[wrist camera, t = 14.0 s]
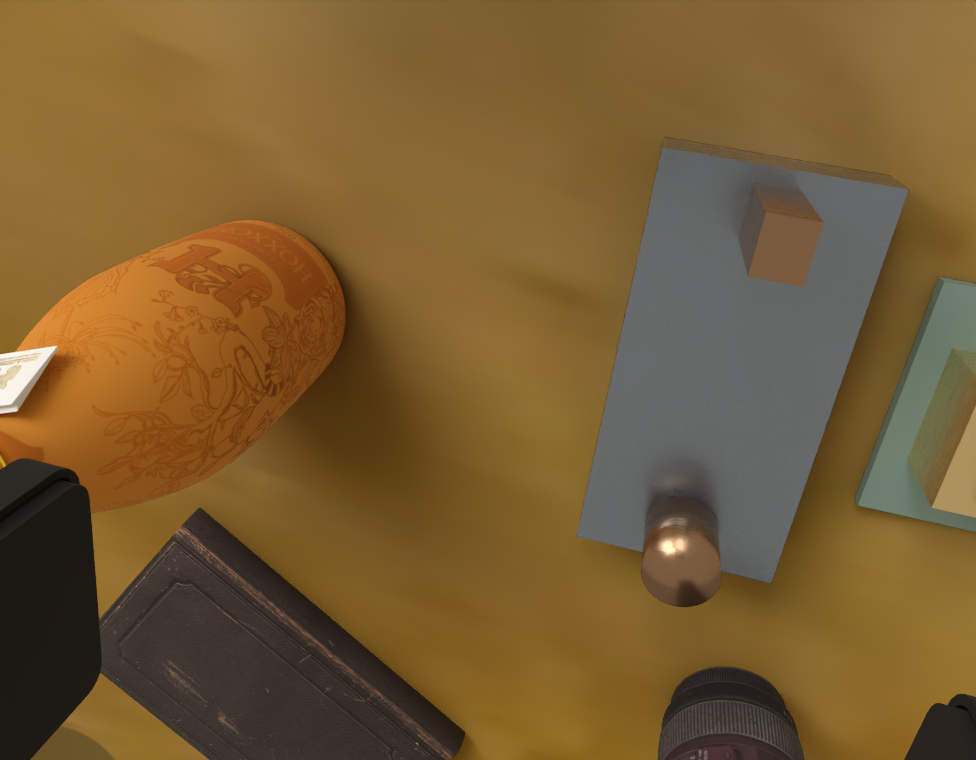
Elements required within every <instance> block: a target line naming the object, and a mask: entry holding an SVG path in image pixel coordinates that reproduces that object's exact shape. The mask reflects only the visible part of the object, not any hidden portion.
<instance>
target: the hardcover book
mask: <svg viewBox="0 0 976 760" xmlns="http://www.w3.org/2000/svg"><path fill="white" fill-rule="evenodd" d="M99 627H100V640H101V653H102V666H101V670H100V672H101V673H102V674H103V675H104V676H106V677H107V678H108V679H109V680H111V681H112V682H113V683H114V684H116V685H117V686H118V687H119V688H121V689H122V690H123V691H124V692H126V693H127V694H128V695H129V696H131V697H132V698H133V699H134V700H136V701H137V702H138V703H139V704H141V705H142V706H143V707H144V708H146V709H147V710H148V711H149V712H151V713H152V714H153V715H154V716H156V717H157V718H158V719H159V720H160V721H162V722H163V723H164V724H165V725H167V726H168V727H169V728H170V729H172V730H173V731H174V732H175V733H177V734H178V735H179V736H180V737H182V738H183V739H184V740H185V741H187V742H188V743H189V744H190V745H192V746H193V747H194V748H195V749H197V750H198V751H199V752H200V753H202V754H203V755H204V756H205V757H207V758H208V759H209V760H450V759H451V758H453V757H454V756H455V755H456V753H457V752H458V751H459V749H460V747H461V745H462V742H463V740H464V736H465V732H464V731H463V730H462V729H461V728H460V727H458V726H457V725H456V724H455V723H454V722H452V721H451V720H450V719H449V718H448V717H447V716H445V715H444V714H443V713H442V712H441V711H440V710H438V709H437V708H436V707H435V706H434V705H432V704H431V703H430V702H429V701H428V700H427V699H425V698H424V697H423V696H422V695H421V694H419V693H418V692H417V691H416V690H415V689H414V688H412V687H411V686H410V685H409V684H408V683H407V682H405V681H404V680H403V679H402V678H401V677H399V676H398V675H397V674H396V673H395V672H394V671H392V670H391V669H390V668H389V667H388V666H386V665H385V664H384V663H383V662H382V661H381V660H379V659H378V658H377V657H376V656H375V655H373V654H372V653H371V652H370V651H369V650H368V649H366V648H365V647H364V646H363V645H362V644H361V643H359V642H358V641H357V640H356V639H355V638H353V637H352V636H351V635H350V634H349V633H348V632H346V631H345V630H344V629H343V628H342V627H340V626H339V625H338V624H337V623H336V622H335V621H333V620H332V619H331V618H330V617H329V616H327V615H326V614H325V613H324V612H323V611H322V610H320V609H319V608H318V607H317V606H316V605H314V604H313V603H312V602H311V601H310V600H309V599H307V598H306V597H305V596H304V595H303V594H301V593H300V592H299V591H298V590H297V589H296V588H294V587H293V586H292V585H291V584H290V583H288V582H287V581H286V580H285V579H284V578H283V577H281V576H280V575H279V574H278V573H277V572H276V571H274V570H273V569H272V568H271V567H270V566H268V565H267V564H266V563H265V562H264V561H263V560H261V559H260V558H259V557H258V556H257V555H255V554H254V553H253V552H252V551H251V550H250V549H248V548H247V547H246V546H245V545H244V544H242V543H241V542H240V541H239V540H238V539H237V538H235V537H234V536H233V535H232V534H231V533H229V532H228V531H227V530H226V529H225V528H224V527H222V526H221V525H220V524H219V523H218V522H216V521H215V520H214V519H213V518H212V517H211V516H209V515H208V514H207V513H206V512H205V511H204V510H202V509H201V508H198V509H197V510H196V511H195V512H194V513H193V514H192V515H191V516H190V518H189V519H188V520H187V521H186V522H185V523H184V524H183V525H182V526H181V527H180V528H179V529H178V530H177V532H176V533H175V534H174V535H173V536H172V537H171V538H170V540H169V541H168V542H167V543H166V544H165V545H164V546H163V547H162V549H161V550H160V551H159V552H158V553H157V554H156V555H155V557H154V558H153V559H152V560H151V561H150V562H149V563H148V564H147V566H146V567H145V568H144V569H143V570H142V571H141V572H140V574H139V575H138V576H137V577H136V578H135V579H134V580H133V582H132V583H131V584H130V585H129V586H128V587H127V588H126V589H125V591H124V592H123V593H122V594H121V595H120V596H119V597H118V599H117V600H116V601H115V602H114V603H113V604H112V605H111V607H110V608H109V609H108V610H107V611H106V612H105V613H104V614H103V616H102V617H101V618H100V619H99Z"/></svg>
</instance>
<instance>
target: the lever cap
mask: <svg viewBox="0 0 976 760" xmlns="http://www.w3.org/2000/svg"><path fill="white" fill-rule="evenodd" d="M907 461H908V463H909V464H910V466H911V468H912V470H913V472H914V474H915V476H916V478H917V480H918V482H919V484H920V486H921V488H922V490H923V492H924V494H925V496H926V498H927V500H928V502H929V504H930V506H931V508H935V509H939V510H944V511H948V512H953V513H957V514H962V515H966V516H971V517H975V518H976V352H971V351H965V350H960V349H955V348H952V350H951V353H950V355H949V358H948V360H947V362H946V365H945V367H944V370H943V372H942V375H941V377H940V380H939V382H938V385H937V387H936V390H935V392H934V395H933V397H932V399H931V402H930V404H929V407H928V409H927V412H926V414H925V417H924V419H923V422H922V424H921V427H920V429H919V432H918V434H917V437H916V439H915V441H914V444H913V446H912V449H911V451H910V454H909V456H908V459H907Z"/></svg>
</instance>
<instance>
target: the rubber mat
mask: <svg viewBox="0 0 976 760" xmlns="http://www.w3.org/2000/svg"><path fill="white" fill-rule="evenodd" d="M952 348H955V349H960V350H965V351H971V352H976V284H975V283H970V282H964V281H959V280H954V279H948V278H943V277H939V279H938V282H937V284H936V287H935V289H934V292H933V295H932V297H931V300H930V302H929V305H928V308H927V310H926V313H925V316H924V318H923V321H922V323H921V326H920V329H919V331H918V334H917V336H916V339H915V342H914V344H913V347H912V349H911V352H910V355H909V357H908V360H907V363H906V365H905V368H904V370H903V373H902V376H901V378H900V381H899V383H898V386H897V389H896V391H895V394H894V397H893V399H892V402H891V404H890V407H889V410H888V412H887V415H886V417H885V420H884V423H883V425H882V428H881V431H880V433H879V436H878V438H877V441H876V444H875V446H874V449H873V451H872V454H871V457H870V459H869V462H868V465H867V467H866V470H865V472H864V475H863V478H862V480H861V483H860V485H859V488H858V491H857V493H856V496H855V499H856V502H857V504H858V506H863V507H867V508H871V509H876V510H880V511H885V512H889V513H894V514H898V515H902V516H907V517H911V518H916V519H920V520H925V521H929V522H933V523H938V524H942V525H947V526H951V527H956V528H960V529H965V530H969V531H973V532H976V518H975V517H971V516H966V515H962V514H957V513H953V512H948V511H944V510H939V509H935V508H931V506H930V504H929V502H928V500H927V498H926V496H925V494H924V492H923V490H922V488H921V486H920V484H919V482H918V480H917V478H916V476H915V474H914V472H913V470H912V468H911V466H910V464H909V463H908V461H907V459H908V456H909V454H910V451H911V449H912V446H913V444H914V441H915V439H916V437H917V434H918V432H919V429H920V427H921V424H922V422H923V419H924V417H925V414H926V412H927V409H928V407H929V404H930V402H931V399H932V397H933V395H934V392H935V390H936V387H937V385H938V382H939V380H940V377H941V375H942V372H943V370H944V367H945V365H946V362H947V360H948V358H949V355H950V353H951V350H952Z"/></svg>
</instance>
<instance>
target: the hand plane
mask: <svg viewBox="0 0 976 760" xmlns="http://www.w3.org/2000/svg"><path fill="white" fill-rule="evenodd" d="M908 191H909V189H907V188H906V187H904V186H903V185H902V184H900V183H899V182H898V181H896V180H895V179H894V178H892V177H891V176H889V175H883V174H878V173H872V172H866V171H860V170H854V169H848V168H842V167H837V166H831V165H825V164H819V163H813V162H807V161H802V160H796V159H790V158H784V157H778V156H772V155H766V154H761V153H755V152H749V151H743V150H737V149H731V148H726V147H720V146H714V145H708V144H702V143H696V142H690V141H685V140H679V139H673V138H667V137H664V140H663V145H662V149H661V154H660V158H659V163H658V168H657V172H656V177H655V181H654V186H653V190H652V195H651V199H650V204H649V208H648V213H647V217H646V222H645V227H644V231H643V236H642V240H641V245H640V249H639V254H638V258H637V263H636V267H635V272H634V276H633V281H632V286H631V290H630V295H629V299H628V304H627V308H626V313H625V317H624V322H623V326H622V331H621V335H620V340H619V345H618V349H617V354H616V358H615V363H614V367H613V372H612V376H611V381H610V385H609V390H608V394H607V399H606V404H605V408H604V413H603V417H602V422H601V426H600V431H599V435H598V440H597V444H596V449H595V453H594V458H593V463H592V467H591V472H590V476H589V481H588V485H587V490H586V494H585V499H584V503H583V508H582V513H581V518H580V522H579V527H578V532H577V537H581V538H585V539H590V540H594V541H598V542H602V543H606V544H610V545H614V546H619V547H623V548H627V549H631V550H635V551H639V552H643V555H642V568H641V575H642V580H643V583H644V585H645V587H646V588H647V590H648V591H649V592H650V593H651V594H652V595H653V596H654V597H655V598H657V599H658V600H660V601H662V602H664V603H666V604H669V605H672V606H678V607H690V606H695V605H699V604H702V603H704V602H706V601H707V600H709V599H710V598H711V597H712V596H714V594H715V593H716V592H717V590H718V589H719V586H720V584H721V577H722V574H721V571H722V572H726V573H730V574H734V575H739V576H743V577H747V578H751V579H755V580H759V581H763V582H768V583H771V582H772V579H773V576H774V573H775V571H776V568H777V565H778V562H779V559H780V556H781V553H782V551H783V548H784V545H785V542H786V539H787V536H788V533H789V531H790V528H791V525H792V522H793V519H794V516H795V513H796V511H797V508H798V505H799V502H800V499H801V496H802V493H803V491H804V488H805V485H806V482H807V479H808V476H809V473H810V471H811V468H812V465H813V462H814V459H815V456H816V453H817V451H818V448H819V445H820V442H821V439H822V436H823V433H824V431H825V428H826V425H827V422H828V419H829V416H830V413H831V411H832V408H833V405H834V402H835V399H836V396H837V393H838V391H839V388H840V385H841V382H842V379H843V376H844V373H845V371H846V368H847V365H848V362H849V359H850V356H851V353H852V351H853V348H854V345H855V342H856V339H857V336H858V334H859V331H860V328H861V325H862V322H863V319H864V316H865V314H866V311H867V308H868V305H869V302H870V299H871V296H872V294H873V291H874V288H875V285H876V282H877V279H878V276H879V274H880V271H881V268H882V265H883V262H884V259H885V256H886V254H887V251H888V248H889V245H890V242H891V239H892V236H893V234H894V231H895V228H896V225H897V222H898V219H899V216H900V214H901V211H902V208H903V205H904V202H905V199H906V196H907V194H908Z"/></svg>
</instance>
